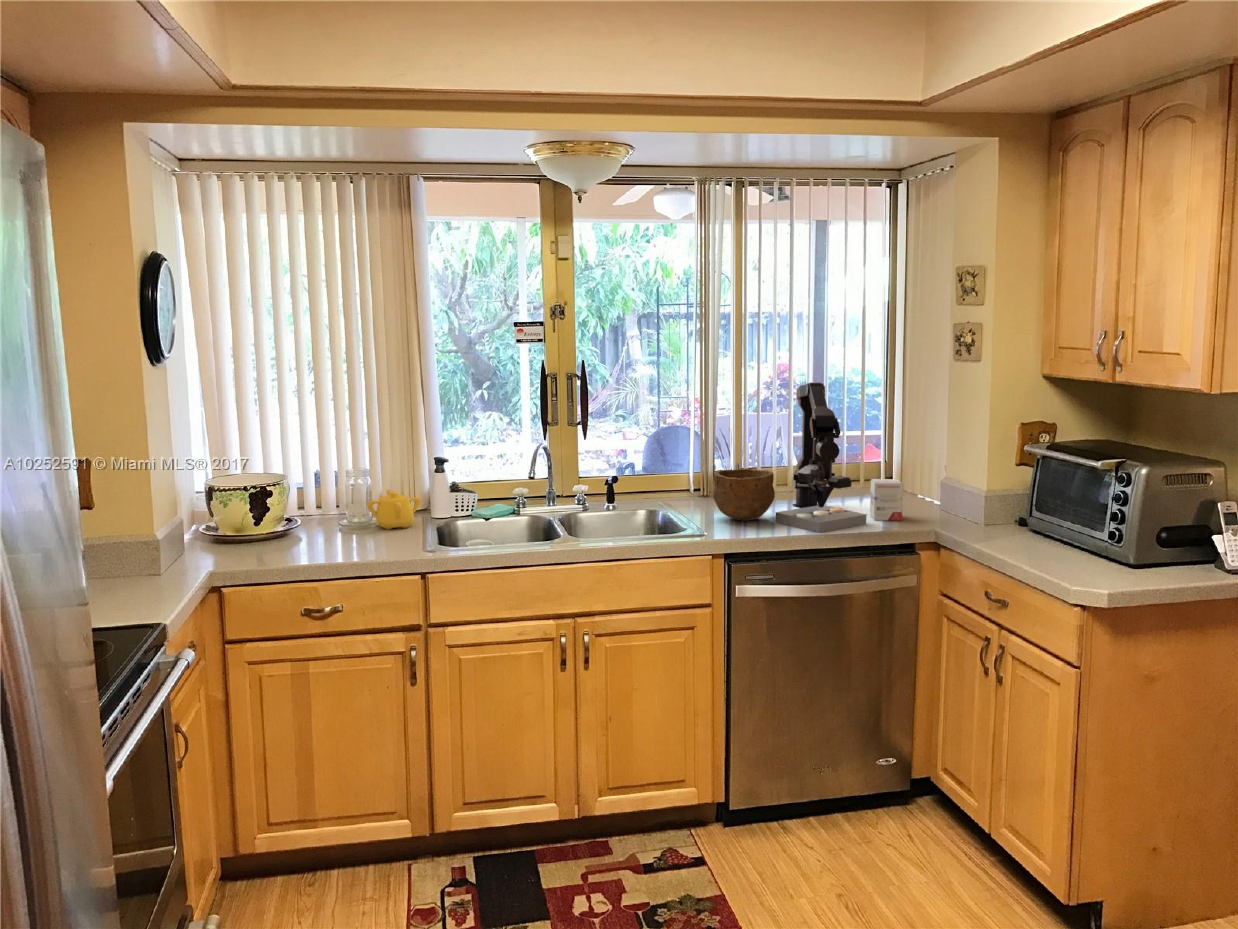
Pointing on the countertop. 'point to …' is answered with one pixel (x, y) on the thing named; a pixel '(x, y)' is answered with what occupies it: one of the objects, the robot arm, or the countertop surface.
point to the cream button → (820, 513)
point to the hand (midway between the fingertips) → (821, 507)
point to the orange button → (837, 510)
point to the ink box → (886, 499)
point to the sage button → (804, 515)
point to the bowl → (743, 492)
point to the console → (820, 519)
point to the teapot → (394, 510)
